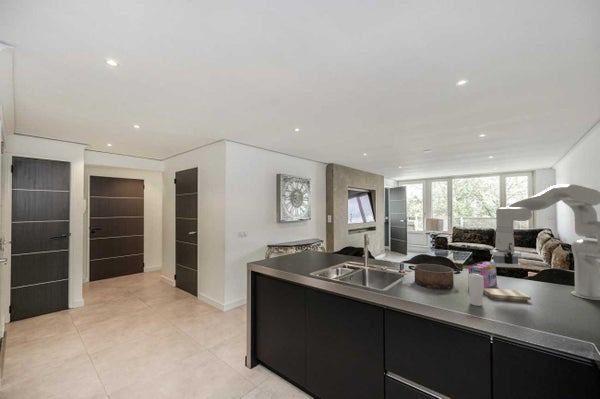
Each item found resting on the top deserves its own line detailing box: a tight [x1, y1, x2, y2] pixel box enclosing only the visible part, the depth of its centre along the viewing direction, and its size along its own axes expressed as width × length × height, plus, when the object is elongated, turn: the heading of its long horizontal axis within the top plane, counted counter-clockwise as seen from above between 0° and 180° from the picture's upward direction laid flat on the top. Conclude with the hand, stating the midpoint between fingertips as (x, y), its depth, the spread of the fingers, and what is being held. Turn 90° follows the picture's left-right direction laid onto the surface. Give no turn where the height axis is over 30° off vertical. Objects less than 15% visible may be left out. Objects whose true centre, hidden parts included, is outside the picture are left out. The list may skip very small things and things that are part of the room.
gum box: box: [467, 260, 498, 288], centre depth 163 cm, size 24×8×14 cm, turn 125°
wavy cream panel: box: [483, 287, 532, 303], centre depth 141 cm, size 18×11×3 cm, turn 77°
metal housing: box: [489, 249, 522, 269], centre depth 142 cm, size 6×12×8 cm, turn 79°
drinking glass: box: [467, 273, 484, 307], centre depth 132 cm, size 7×7×15 cm
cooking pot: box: [408, 263, 461, 291], centre depth 165 cm, size 30×22×11 cm
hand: (505, 262), depth 142 cm, fingers closed on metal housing, 6 cm apart
